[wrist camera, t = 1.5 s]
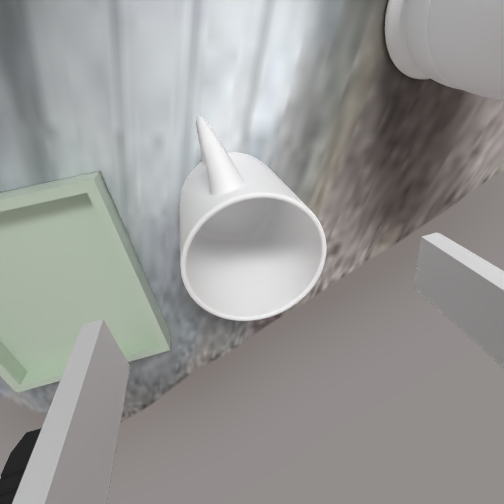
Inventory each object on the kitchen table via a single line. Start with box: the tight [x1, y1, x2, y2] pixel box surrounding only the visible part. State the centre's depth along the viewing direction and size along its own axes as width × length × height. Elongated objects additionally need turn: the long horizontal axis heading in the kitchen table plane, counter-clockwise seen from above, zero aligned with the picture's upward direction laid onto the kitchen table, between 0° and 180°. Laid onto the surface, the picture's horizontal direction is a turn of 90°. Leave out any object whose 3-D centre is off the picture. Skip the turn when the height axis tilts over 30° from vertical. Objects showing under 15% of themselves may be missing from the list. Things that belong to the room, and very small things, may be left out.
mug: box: [179, 116, 326, 321], centre depth 21 cm, size 9×12×11 cm
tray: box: [0, 171, 171, 393], centre depth 26 cm, size 18×15×2 cm
